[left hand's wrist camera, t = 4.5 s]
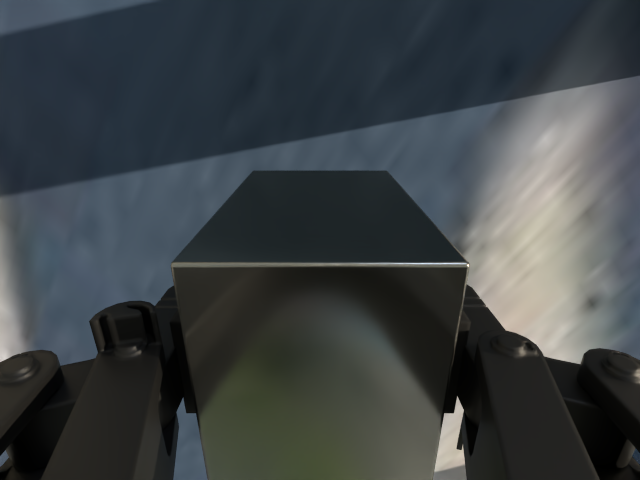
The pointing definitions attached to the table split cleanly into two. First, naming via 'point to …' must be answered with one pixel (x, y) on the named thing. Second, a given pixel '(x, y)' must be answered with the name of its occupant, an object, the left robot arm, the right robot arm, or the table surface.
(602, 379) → the left robot arm
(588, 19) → the table surface
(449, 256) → the bar
